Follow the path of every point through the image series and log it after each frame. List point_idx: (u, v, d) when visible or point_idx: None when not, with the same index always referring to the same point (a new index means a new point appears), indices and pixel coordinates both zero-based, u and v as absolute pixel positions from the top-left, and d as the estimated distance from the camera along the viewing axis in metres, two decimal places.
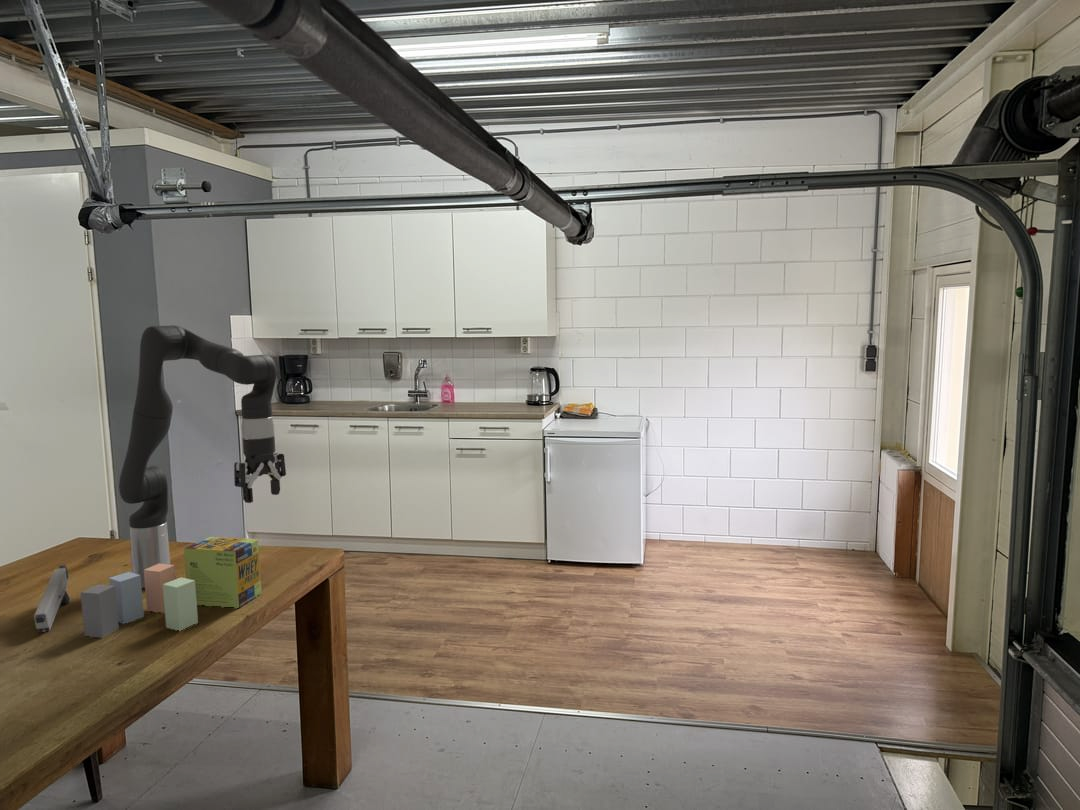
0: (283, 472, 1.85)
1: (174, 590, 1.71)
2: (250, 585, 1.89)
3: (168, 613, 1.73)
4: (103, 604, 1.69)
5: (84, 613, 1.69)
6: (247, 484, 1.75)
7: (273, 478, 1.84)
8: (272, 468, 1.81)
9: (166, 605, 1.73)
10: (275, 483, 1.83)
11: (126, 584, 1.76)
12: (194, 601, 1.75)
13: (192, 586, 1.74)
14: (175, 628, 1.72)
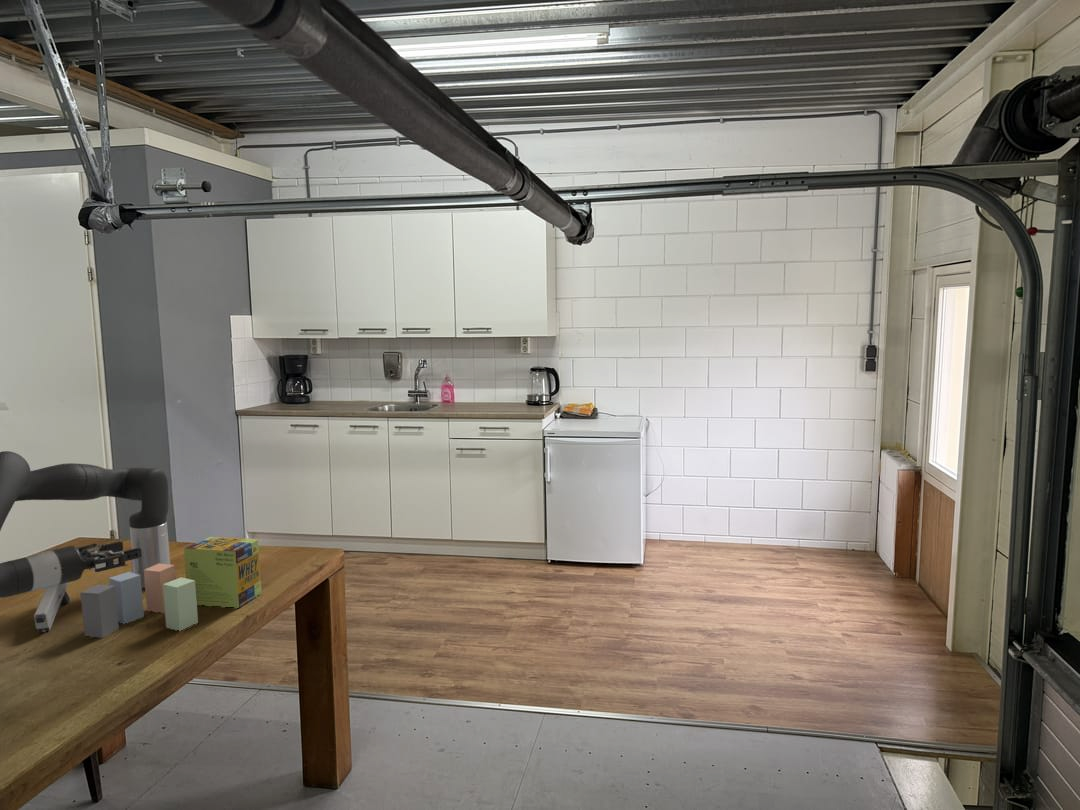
0: None
1: (174, 590, 1.71)
2: (250, 585, 1.89)
3: (168, 613, 1.73)
4: (103, 604, 1.69)
5: (84, 613, 1.69)
6: None
7: None
8: None
9: (166, 605, 1.73)
10: None
11: (126, 584, 1.76)
12: (194, 601, 1.75)
13: (192, 586, 1.74)
14: (175, 628, 1.72)
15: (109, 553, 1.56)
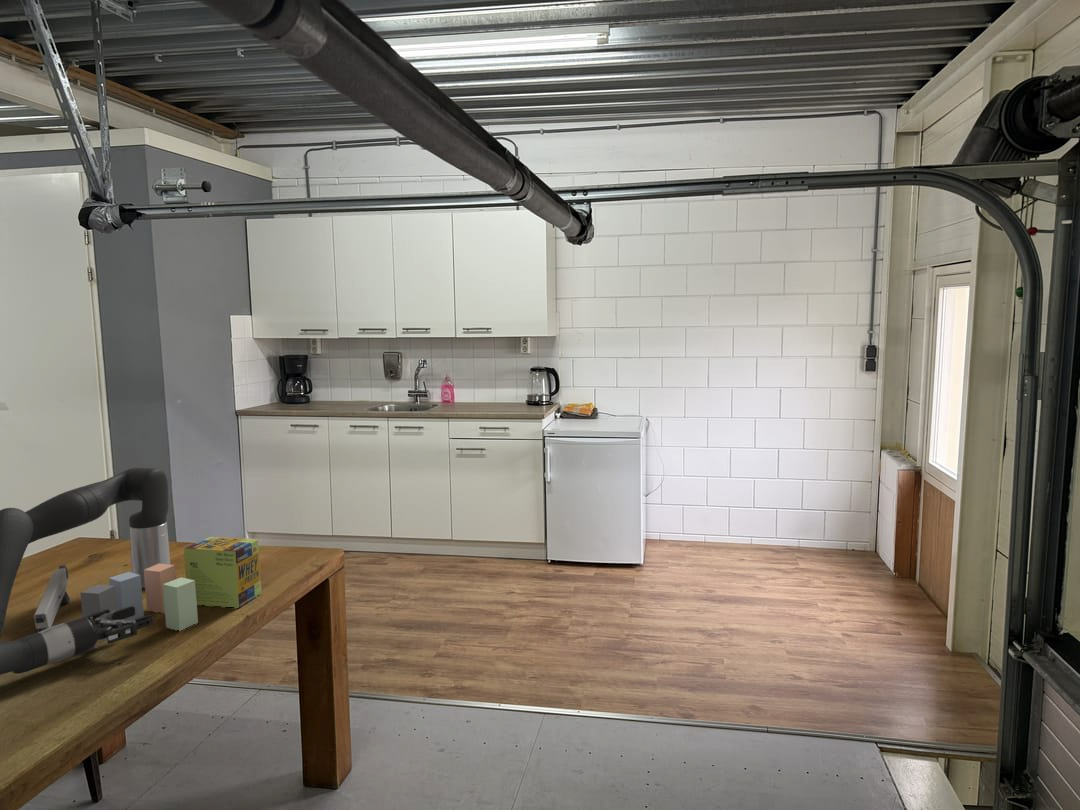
0: None
1: (174, 590, 1.71)
2: (250, 585, 1.89)
3: (168, 613, 1.73)
4: (103, 604, 1.69)
5: (84, 613, 1.69)
6: None
7: None
8: None
9: (166, 605, 1.73)
10: None
11: (126, 584, 1.76)
12: (194, 601, 1.75)
13: (192, 586, 1.74)
14: (175, 628, 1.72)
15: (121, 623, 1.60)
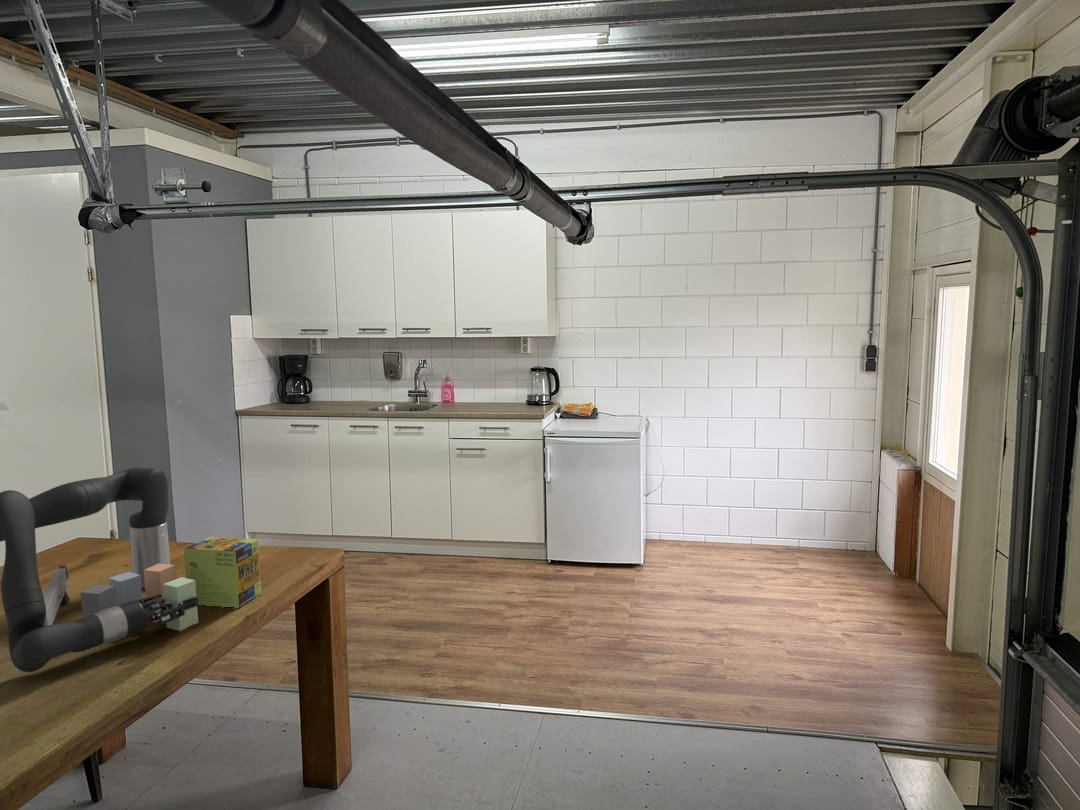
0: None
1: (174, 590, 1.71)
2: (250, 585, 1.89)
3: None
4: (103, 604, 1.69)
5: (84, 613, 1.69)
6: None
7: None
8: None
9: None
10: None
11: (126, 584, 1.76)
12: None
13: (192, 586, 1.74)
14: (175, 628, 1.72)
15: (170, 604, 1.69)
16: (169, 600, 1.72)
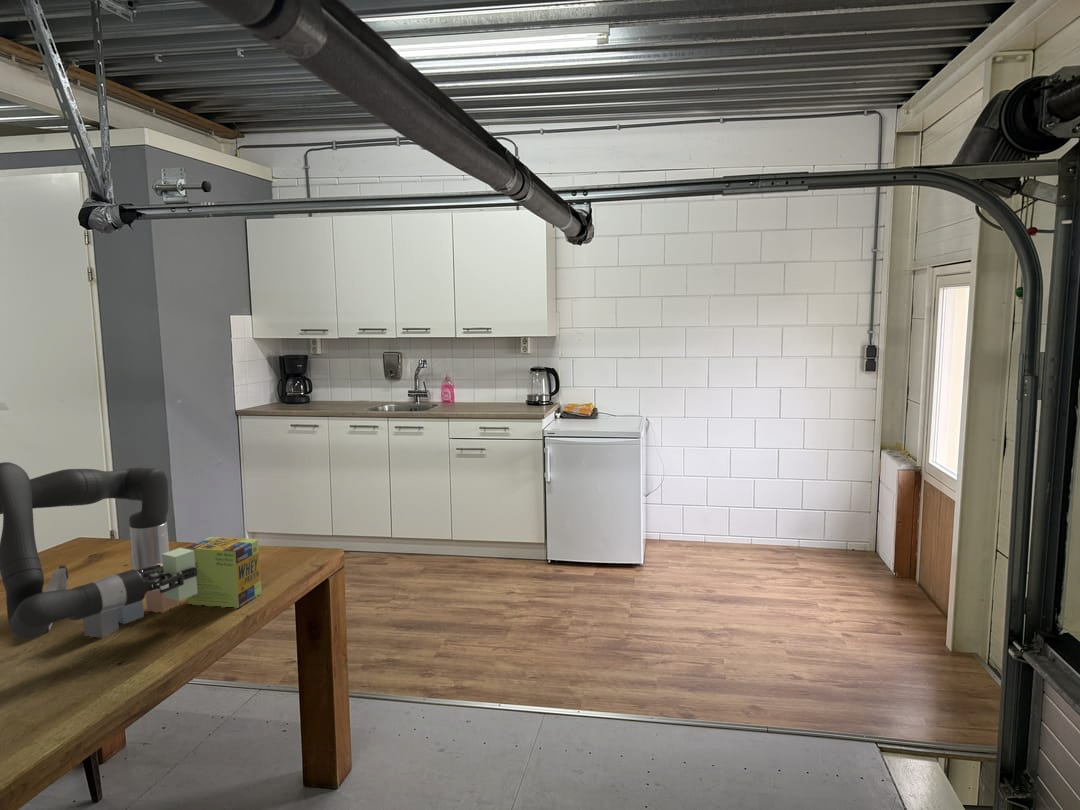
0: None
1: (173, 560, 1.70)
2: (250, 585, 1.89)
3: None
4: None
5: None
6: None
7: None
8: None
9: None
10: None
11: None
12: None
13: (191, 556, 1.74)
14: (174, 598, 1.72)
15: (169, 574, 1.68)
16: (168, 570, 1.72)
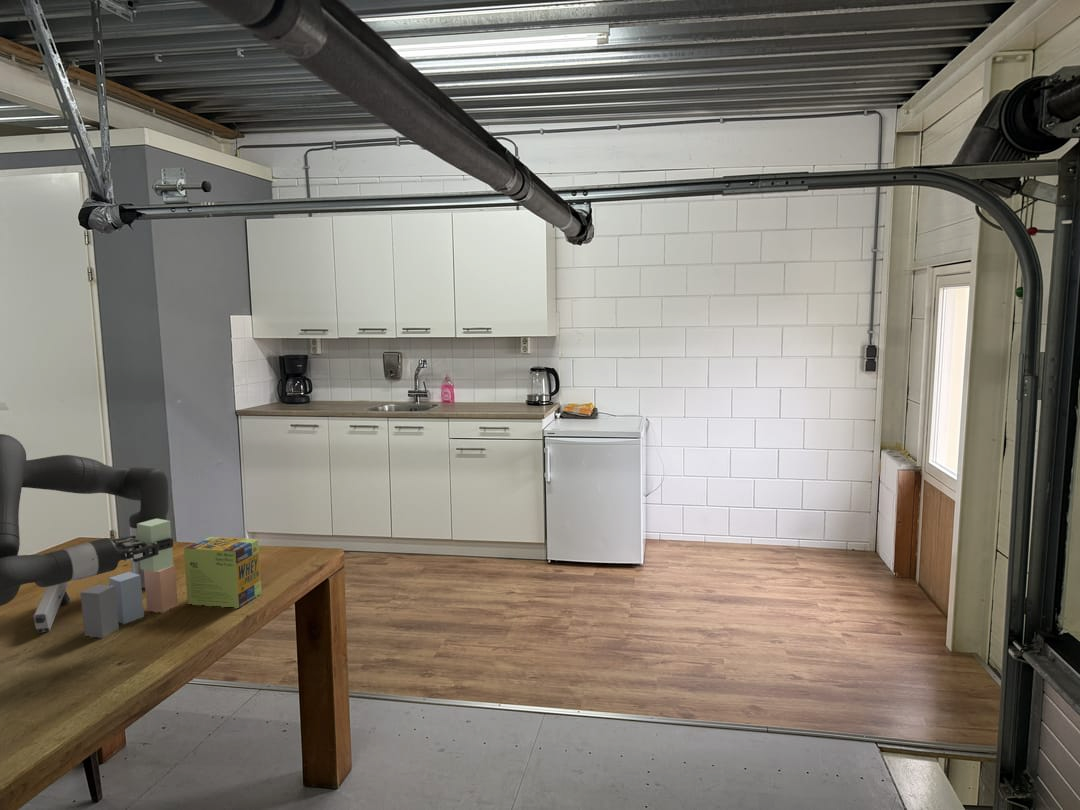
0: None
1: (148, 529, 1.66)
2: (250, 585, 1.89)
3: None
4: (103, 604, 1.69)
5: (84, 613, 1.69)
6: None
7: None
8: None
9: (140, 545, 1.68)
10: None
11: (126, 584, 1.76)
12: None
13: (167, 526, 1.70)
14: (149, 569, 1.68)
15: (143, 544, 1.64)
16: (143, 540, 1.68)
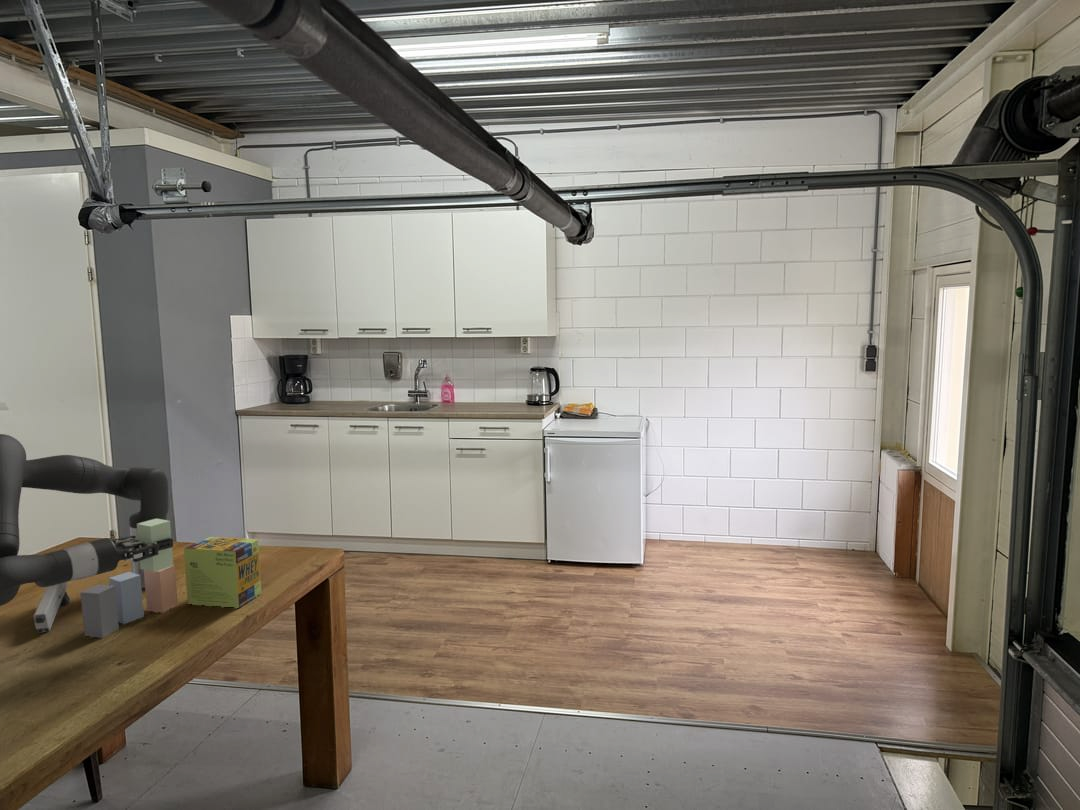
0: None
1: (148, 529, 1.66)
2: (250, 585, 1.89)
3: None
4: (103, 604, 1.69)
5: (84, 613, 1.69)
6: None
7: None
8: None
9: None
10: None
11: (126, 584, 1.76)
12: None
13: (167, 526, 1.70)
14: (149, 569, 1.68)
15: (143, 544, 1.64)
16: (143, 540, 1.68)
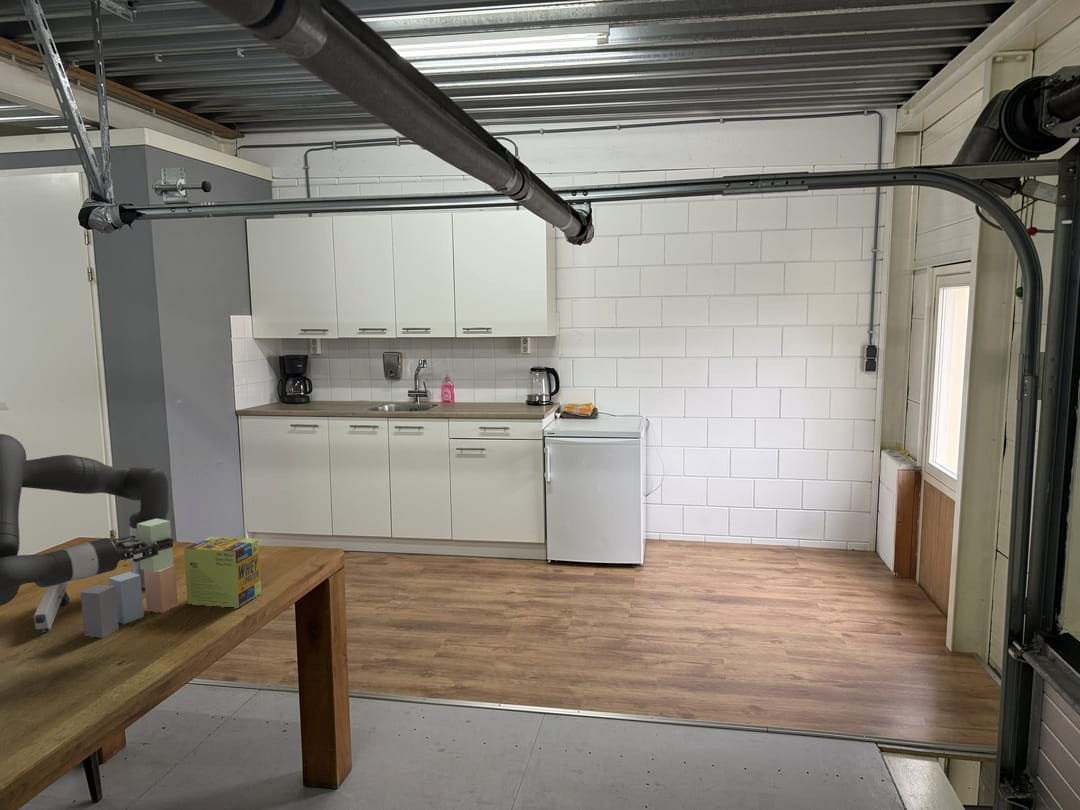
0: None
1: (148, 529, 1.66)
2: (250, 585, 1.89)
3: None
4: (103, 604, 1.69)
5: (84, 613, 1.69)
6: None
7: None
8: None
9: None
10: None
11: (126, 584, 1.76)
12: None
13: (167, 526, 1.70)
14: (149, 569, 1.68)
15: (143, 544, 1.64)
16: (143, 540, 1.68)
